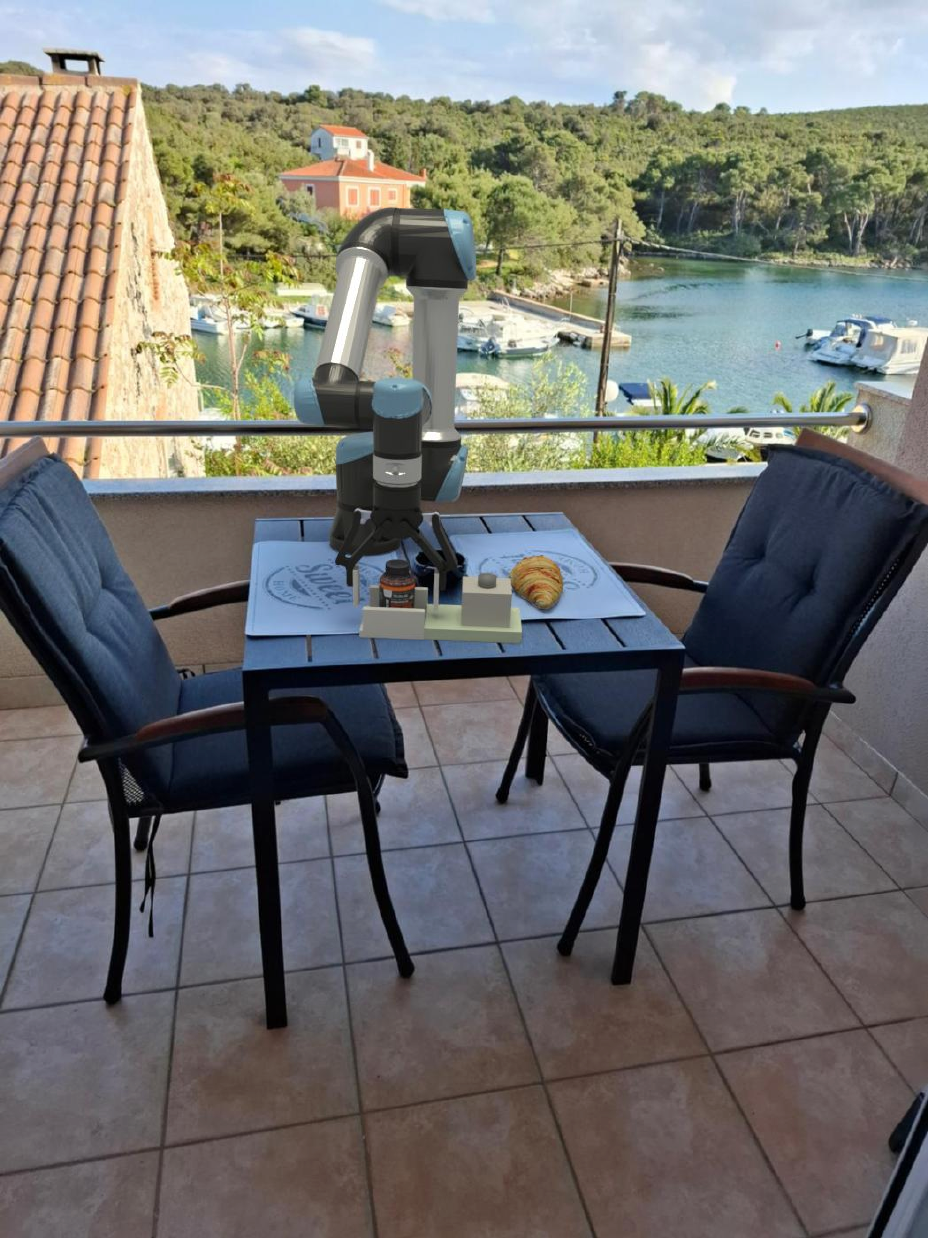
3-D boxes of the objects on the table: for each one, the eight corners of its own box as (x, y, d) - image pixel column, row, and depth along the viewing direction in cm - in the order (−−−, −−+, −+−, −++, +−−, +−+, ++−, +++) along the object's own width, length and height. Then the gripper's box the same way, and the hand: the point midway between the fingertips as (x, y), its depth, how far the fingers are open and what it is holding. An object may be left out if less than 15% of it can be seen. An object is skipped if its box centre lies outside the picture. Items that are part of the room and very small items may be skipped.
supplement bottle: (390, 635, 137) (391, 572, 133) (372, 622, 142) (372, 560, 137) (421, 627, 141) (422, 565, 136) (402, 615, 145) (402, 554, 140)
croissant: (559, 631, 150) (584, 595, 147) (513, 608, 147) (537, 571, 144) (537, 584, 169) (558, 552, 166) (495, 563, 166) (516, 529, 163)
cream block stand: (366, 611, 146) (366, 559, 142) (518, 617, 146) (522, 566, 142) (359, 637, 136) (358, 582, 132) (521, 643, 136) (525, 589, 132)
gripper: (314, 484, 127) (318, 611, 136) (475, 491, 127) (469, 617, 136) (322, 471, 134) (326, 593, 143) (475, 478, 134) (470, 599, 143)
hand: (396, 605), depth 140 cm, fingers open, 13 cm apart
